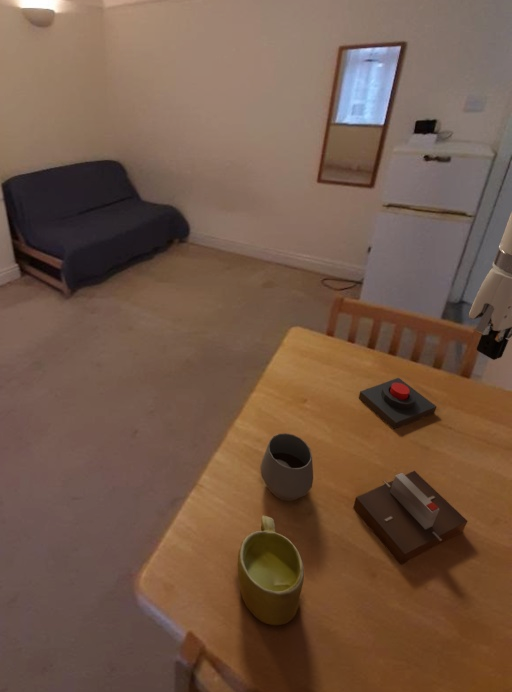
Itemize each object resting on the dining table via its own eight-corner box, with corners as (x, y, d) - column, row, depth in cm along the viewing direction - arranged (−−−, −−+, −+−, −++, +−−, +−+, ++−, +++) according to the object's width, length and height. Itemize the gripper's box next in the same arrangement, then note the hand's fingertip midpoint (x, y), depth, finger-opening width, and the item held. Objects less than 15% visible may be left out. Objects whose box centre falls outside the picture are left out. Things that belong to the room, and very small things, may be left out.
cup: (257, 502, 75) (261, 466, 71) (260, 459, 83) (264, 424, 79) (311, 516, 72) (319, 479, 68) (309, 470, 80) (316, 435, 76)
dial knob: (389, 492, 73) (395, 474, 70) (396, 488, 73) (402, 471, 71) (425, 529, 67) (432, 512, 65) (432, 526, 67) (440, 508, 65)
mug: (311, 650, 55) (296, 587, 53) (238, 630, 59) (222, 572, 58) (316, 567, 65) (303, 513, 64) (254, 556, 70) (241, 506, 69)
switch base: (407, 478, 78) (411, 467, 77) (466, 535, 68) (471, 523, 67) (350, 504, 74) (353, 493, 72) (404, 569, 64) (408, 557, 63)
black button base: (396, 384, 100) (400, 371, 98) (434, 413, 91) (439, 400, 90) (358, 398, 96) (361, 385, 95) (394, 430, 88) (398, 416, 86)
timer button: (398, 386, 94) (399, 380, 94) (411, 397, 91) (413, 391, 91) (386, 390, 93) (387, 385, 93) (399, 401, 90) (401, 395, 90)
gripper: (529, 245, 69) (494, 332, 77) (468, 261, 65) (437, 352, 73) (584, 263, 63) (540, 356, 71) (520, 282, 59) (480, 379, 67)
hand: (488, 353), depth 72 cm, fingers closed
